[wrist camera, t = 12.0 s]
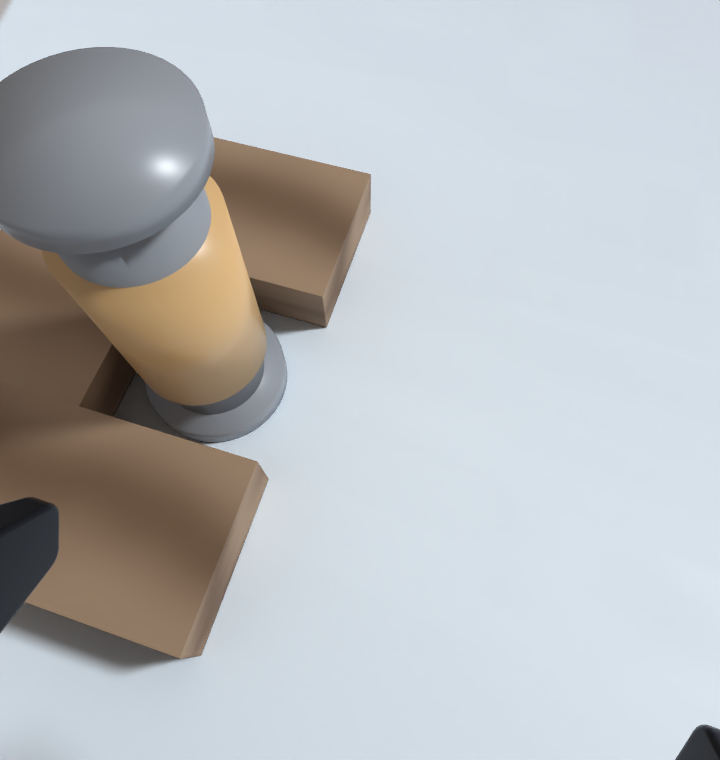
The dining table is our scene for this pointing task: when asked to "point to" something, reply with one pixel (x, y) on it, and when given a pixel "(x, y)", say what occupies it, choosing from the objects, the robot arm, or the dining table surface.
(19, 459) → the notched board
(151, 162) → the bobbin
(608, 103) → the dining table surface
